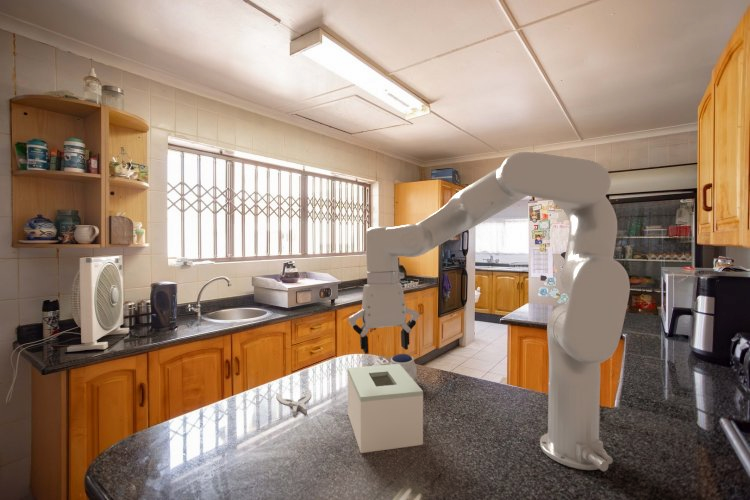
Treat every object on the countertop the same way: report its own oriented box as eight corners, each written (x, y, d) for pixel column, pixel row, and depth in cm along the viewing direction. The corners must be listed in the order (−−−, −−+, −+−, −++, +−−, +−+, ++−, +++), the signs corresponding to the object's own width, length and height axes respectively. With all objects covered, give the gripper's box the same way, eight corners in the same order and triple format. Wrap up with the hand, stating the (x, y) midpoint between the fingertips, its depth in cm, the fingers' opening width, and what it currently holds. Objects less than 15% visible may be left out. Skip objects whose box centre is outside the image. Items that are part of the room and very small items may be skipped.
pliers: (309, 385, 110) (319, 407, 96) (309, 390, 110) (319, 413, 96) (275, 390, 106) (280, 413, 92) (275, 395, 106) (280, 419, 92)
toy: (345, 356, 116) (401, 344, 123) (347, 384, 116) (403, 371, 124) (364, 376, 99) (428, 361, 106) (367, 409, 99) (430, 392, 107)
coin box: (422, 444, 80) (423, 391, 80) (360, 453, 77) (360, 397, 77) (399, 407, 98) (399, 363, 97) (347, 413, 94) (347, 367, 94)
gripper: (412, 275, 92) (414, 342, 92) (344, 279, 88) (347, 349, 88) (422, 278, 85) (425, 350, 85) (349, 282, 81) (352, 358, 81)
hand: (385, 350), depth 87 cm, fingers open, 9 cm apart
